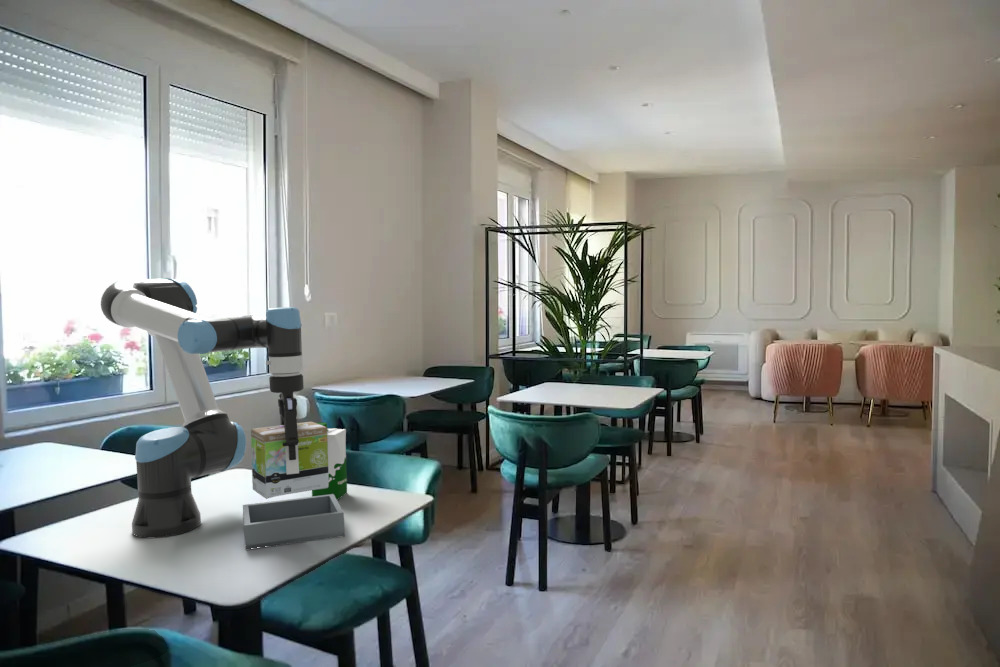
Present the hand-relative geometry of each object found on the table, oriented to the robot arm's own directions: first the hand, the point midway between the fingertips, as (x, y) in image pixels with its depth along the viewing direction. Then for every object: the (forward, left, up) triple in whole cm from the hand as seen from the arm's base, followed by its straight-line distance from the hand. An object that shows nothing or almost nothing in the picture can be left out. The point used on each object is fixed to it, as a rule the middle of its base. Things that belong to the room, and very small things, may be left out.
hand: (290, 467), depth 172 cm
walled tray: (0, 0, -15) cm, 15 cm away
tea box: (0, 0, -5) cm, 5 cm away
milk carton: (-26, +12, -15) cm, 33 cm away
